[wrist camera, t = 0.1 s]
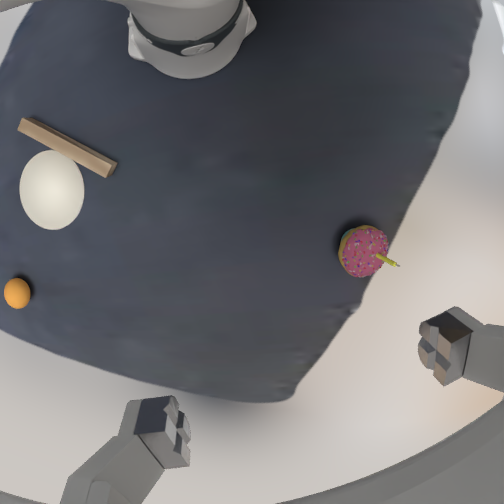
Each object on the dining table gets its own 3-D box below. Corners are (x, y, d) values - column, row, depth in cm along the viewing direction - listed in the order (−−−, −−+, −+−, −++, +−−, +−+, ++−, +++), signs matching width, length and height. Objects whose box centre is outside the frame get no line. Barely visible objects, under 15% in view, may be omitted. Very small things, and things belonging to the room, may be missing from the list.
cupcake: (369, 211, 49) (408, 233, 38) (377, 254, 53) (413, 284, 42) (324, 229, 49) (355, 257, 38) (336, 272, 53) (365, 307, 42)
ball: (9, 276, 44) (-6, 290, 39) (27, 270, 45) (13, 283, 40) (21, 301, 47) (8, 316, 41) (39, 296, 47) (27, 311, 42)
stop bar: (111, 174, 42) (105, 177, 39) (27, 129, 36) (17, 129, 33) (117, 163, 41) (111, 165, 38) (31, 117, 36) (22, 117, 33)
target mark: (12, 167, 38) (11, 168, 38) (71, 137, 38) (71, 137, 38) (35, 238, 43) (34, 238, 43) (94, 215, 43) (94, 216, 43)
